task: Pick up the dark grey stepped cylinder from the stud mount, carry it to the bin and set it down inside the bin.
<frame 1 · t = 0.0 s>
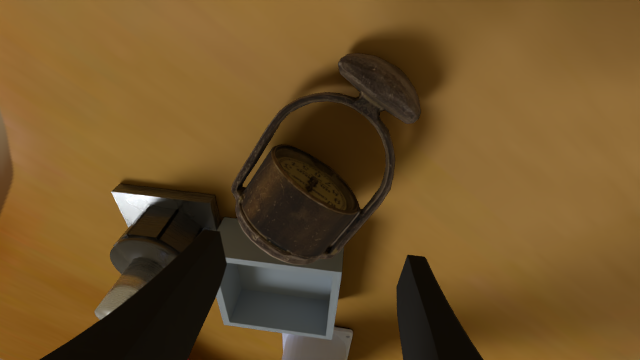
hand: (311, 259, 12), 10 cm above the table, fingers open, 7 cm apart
bin: (285, 262, 29), on the table
stud mount: (178, 224, 27), on the table
dark grey stepped cylinder: (172, 232, 26), point 1 cm above the table, touching stud mount
dark brown handled cylinder: (334, 146, 21), on the table
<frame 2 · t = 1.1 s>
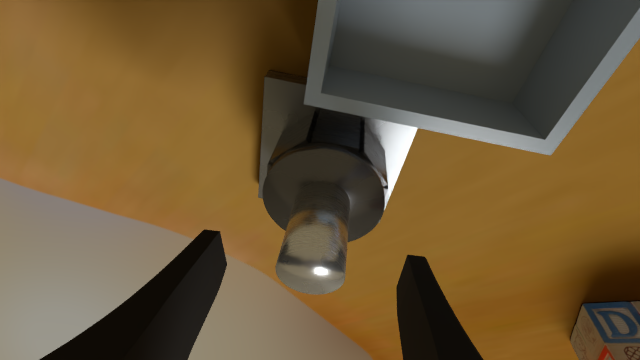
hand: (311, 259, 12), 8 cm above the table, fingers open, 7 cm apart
stud mount: (331, 150, 18), on the table
dark grey stepped cylinder: (330, 159, 18), point 1 cm above the table, touching stud mount
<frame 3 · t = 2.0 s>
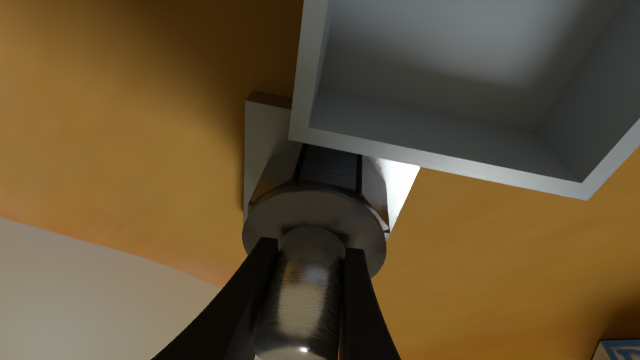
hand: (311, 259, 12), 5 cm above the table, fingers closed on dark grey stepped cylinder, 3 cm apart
stud mount: (325, 179, 16), on the table
dark grey stepped cylinder: (322, 191, 15), point 1 cm above the table, touching gripper, stud mount
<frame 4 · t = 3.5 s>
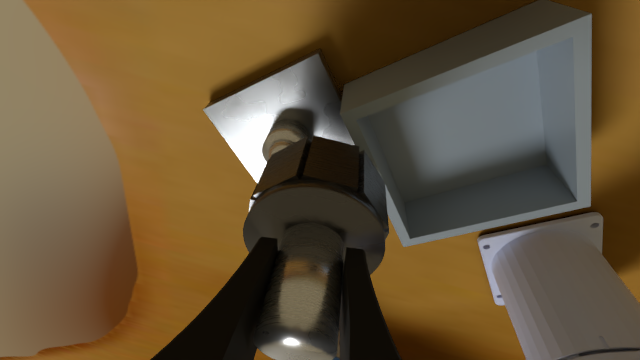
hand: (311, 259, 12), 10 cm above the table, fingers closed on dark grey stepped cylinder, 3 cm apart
bin: (453, 126, 19), on the table
stud mount: (292, 132, 20), on the table
dark grey stepped cylinder: (322, 189, 16), point 6 cm above the table, touching gripper
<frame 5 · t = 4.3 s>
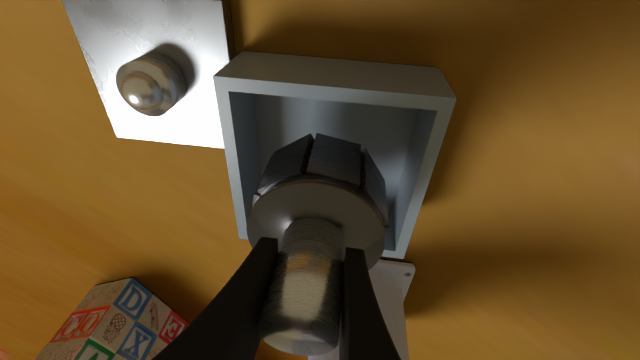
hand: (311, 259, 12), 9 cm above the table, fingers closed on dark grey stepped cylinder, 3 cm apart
bin: (331, 144, 19), on the table
stud mount: (169, 73, 18), on the table
stack of blocks: (179, 329, 38), on the table
dark grey stepped cylinder: (323, 186, 16), point 4 cm above the table, touching gripper
when the fingers open (6 cm above the table, at t = 5.1 s): dark grey stepped cylinder stays where it is, resting on bin.
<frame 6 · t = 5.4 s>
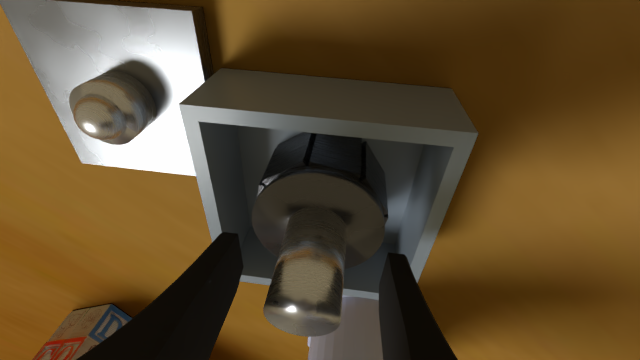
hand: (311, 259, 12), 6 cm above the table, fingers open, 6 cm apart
bin: (326, 171, 17), on the table
stud mount: (138, 93, 15), on the table
stack of blocks: (165, 354, 35), on the table
dark grey stepped cylinder: (325, 178, 16), resting on bin
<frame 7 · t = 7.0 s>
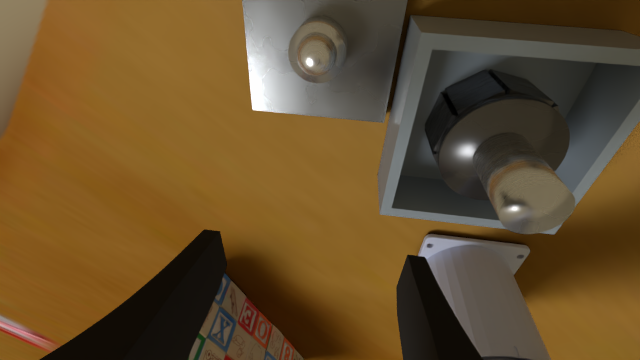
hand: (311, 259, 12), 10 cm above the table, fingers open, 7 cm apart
bin: (477, 116, 18), on the table
stud mount: (322, 41, 17), on the table
stack of blocks: (245, 317, 37), on the table
dark grey stepped cylinder: (479, 121, 18), resting on bin
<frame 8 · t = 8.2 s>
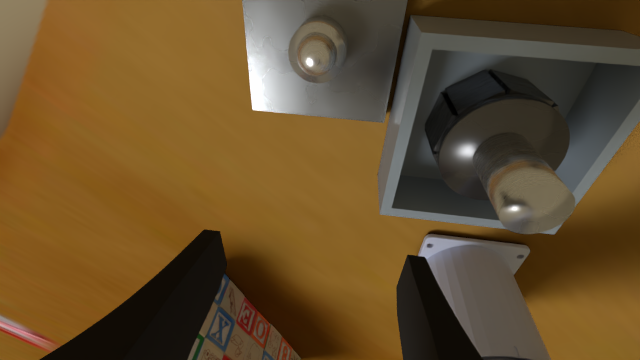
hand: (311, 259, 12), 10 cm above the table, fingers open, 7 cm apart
bin: (477, 116, 18), on the table
stud mount: (322, 41, 17), on the table
stack of blocks: (243, 317, 37), on the table
dark grey stepped cylinder: (479, 121, 18), resting on bin
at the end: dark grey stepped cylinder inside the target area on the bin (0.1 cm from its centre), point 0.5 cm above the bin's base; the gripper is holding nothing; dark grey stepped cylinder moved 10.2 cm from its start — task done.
